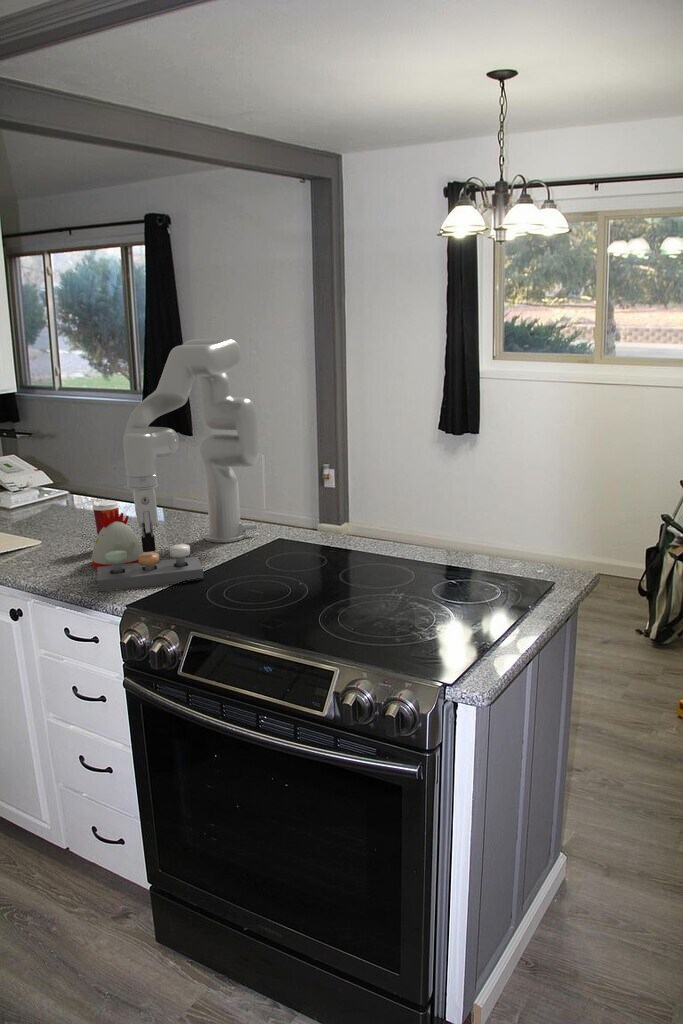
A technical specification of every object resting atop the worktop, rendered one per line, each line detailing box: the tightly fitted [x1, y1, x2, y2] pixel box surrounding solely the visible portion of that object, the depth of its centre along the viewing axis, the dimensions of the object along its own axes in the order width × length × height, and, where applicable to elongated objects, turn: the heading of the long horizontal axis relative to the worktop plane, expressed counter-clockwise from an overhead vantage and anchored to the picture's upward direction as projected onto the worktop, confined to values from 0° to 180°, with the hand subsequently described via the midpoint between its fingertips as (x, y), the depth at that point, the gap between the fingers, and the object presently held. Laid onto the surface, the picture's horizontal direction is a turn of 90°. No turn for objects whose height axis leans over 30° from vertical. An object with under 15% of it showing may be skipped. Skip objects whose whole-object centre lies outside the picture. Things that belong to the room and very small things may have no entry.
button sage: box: [105, 551, 127, 574], centre depth 216 cm, size 5×5×5 cm
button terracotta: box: [138, 552, 160, 570], centre depth 219 cm, size 5×5×5 cm
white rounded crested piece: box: [91, 510, 144, 569], centre depth 234 cm, size 14×14×15 cm
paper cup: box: [92, 500, 120, 535], centre depth 248 cm, size 8×8×14 cm
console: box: [96, 556, 204, 592], centre depth 219 cm, size 26×12×3 cm, turn 106°
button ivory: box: [169, 543, 191, 567], centre depth 221 cm, size 5×5×5 cm
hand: (149, 550), depth 218 cm, fingers closed
